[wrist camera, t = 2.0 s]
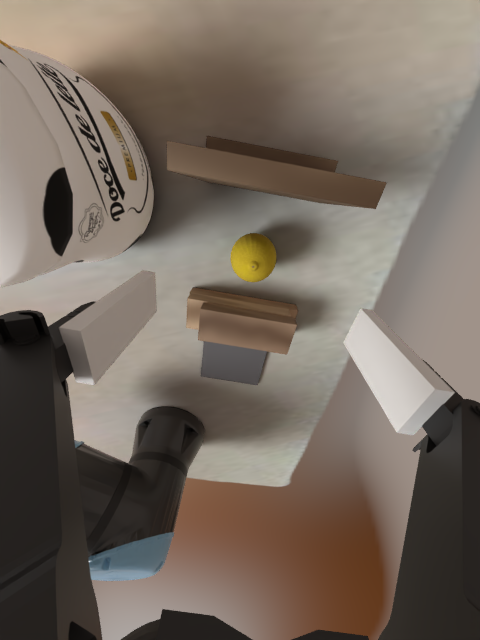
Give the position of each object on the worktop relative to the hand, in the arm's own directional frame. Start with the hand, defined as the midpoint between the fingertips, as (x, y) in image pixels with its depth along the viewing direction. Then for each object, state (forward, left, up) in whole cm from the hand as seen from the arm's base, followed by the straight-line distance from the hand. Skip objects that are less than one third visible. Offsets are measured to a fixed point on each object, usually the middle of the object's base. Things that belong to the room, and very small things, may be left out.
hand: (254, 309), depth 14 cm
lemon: (0, 0, -18) cm, 18 cm away
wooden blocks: (0, 0, -18) cm, 18 cm away
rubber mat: (-19, 0, -18) cm, 26 cm away
